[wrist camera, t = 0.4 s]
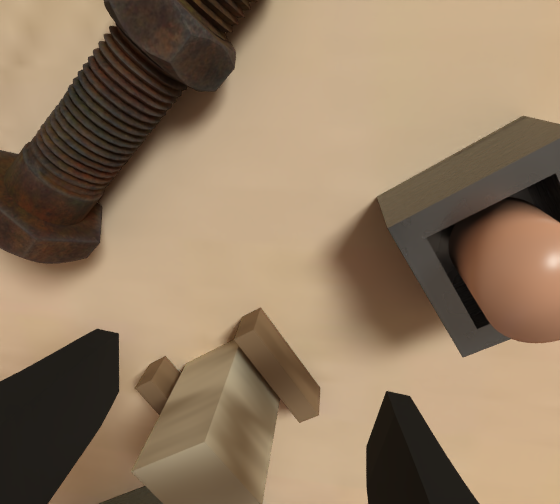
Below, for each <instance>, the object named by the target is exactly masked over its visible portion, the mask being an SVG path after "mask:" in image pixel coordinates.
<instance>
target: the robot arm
mask: <svg viewBox="0 0 560 504" xmlns="http://www.w3.org/2000/svg"><path fill="white" fill-rule="evenodd" d="M118 392H119V333H114V332H110V331H105V330H100V329H96V330H94V331H92V332H90V333H88V334H86V335H84V336H83V337H81V338H79V339H77V340H76V341H74V342H72V343H70V344H68V345H67V346H65V347H63V348H61V349H60V350H58V351H56V352H54V353H53V354H51V355H49V356H47V357H45V358H44V359H42V360H40V361H38V362H36V363H35V364H33V365H31V366H29V367H27V368H25V369H24V370H22V371H20V372H18V373H16V374H14V375H12V376H10V377H8V378H6V379H4V380H2V381H0V504H48V502H49V501H50V500H51V498H52V497H53V495H54V494H55V492H56V491H57V489H58V488H59V487H60V485H61V484H62V482H63V481H64V479H65V478H66V476H67V475H68V474H69V472H70V471H71V469H72V468H73V466H74V465H75V463H76V462H77V461H78V459H79V458H80V456H81V455H82V453H83V452H84V450H85V449H86V447H87V446H88V445H89V443H90V442H91V440H92V439H93V437H94V436H95V434H96V433H97V431H98V430H99V428H100V427H101V425H102V423H103V421H104V419H105V417H106V416H107V414H108V412H109V410H110V408H111V406H112V404H113V402H114V400H115V398H116V396H117V394H118ZM366 478H367V496H368V504H479V503H478V501H477V500H476V498H475V497H474V496H473V494H472V493H471V491H470V490H469V489H468V487H467V486H466V484H465V483H464V481H463V480H462V478H461V477H460V475H459V474H458V472H457V471H456V469H455V468H454V466H453V465H452V463H451V462H450V460H449V459H448V457H447V456H446V454H445V452H444V451H443V449H442V448H441V446H440V444H439V443H438V441H437V440H436V438H435V436H434V435H433V433H432V431H431V430H430V428H429V427H428V425H427V423H426V422H425V420H424V418H423V417H422V415H421V413H420V412H419V410H418V408H417V407H416V405H415V403H414V402H413V400H412V399H411V397H410V396H407V395H402V394H398V393H393V392H388V391H386V394H385V396H384V399H383V402H382V405H381V407H380V410H379V413H378V416H377V419H376V421H375V424H374V427H373V430H372V432H371V435H370V438H369V441H368V444H367V448H366Z"/></svg>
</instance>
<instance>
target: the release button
mask: <svg viewBox="0 0 560 504" xmlns="http://www.w3.org/2000/svg"><path fill="white" fill-rule="evenodd" d="M448 248H449V255H450V258H451V261H452V263H453V265H454V266H455V268H456V269H457V271H458V273H459V274H460V276H461V278H462V279H463V281H464V282H465V284H466V286H467V287H468V289H469V291H470V292H471V294H472V295H473V297H474V299H475V300H476V302H477V304H478V305H479V307H480V308H481V310H482V312H483V313H484V315H485V317H486V318H487V320H488V321H489V323H490V324H491V325H492V326H493V327H494V328H495V329H496V330H497V331H498V332H500V333H501V334H503V335H504V336H506V337H509V338H511V339H514V340H517V341H521V342H526V343H546V342H553V341H557V340H560V223H559V222H558V221H556V220H555V219H553V218H552V217H551V216H549V215H548V214H546V213H545V212H543V211H542V210H540V209H539V208H537V207H536V206H534V205H533V204H531V203H529V202H527V201H525V200H522V199H519V198H513V197H507V198H505V199H503V200H501V201H499V202H497V203H495V204H493V205H491V206H489V207H487V208H485V209H483V210H481V211H479V212H477V213H475V214H473V215H471V216H469V217H467V218H465V219H463V220H461V221H459V222H457V223H456V224H455V226H454V228H453V230H452V232H451V235H450V238H449V247H448Z"/></svg>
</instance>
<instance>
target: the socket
mask: <svg viewBox="0 0 560 504" xmlns="http://www.w3.org/2000/svg"><path fill="white" fill-rule="evenodd" d="M234 340H235V342H236V343H237V344H238V345H239V347H240V348H241V349H242V350H243V352H244V353H245V354H246V356H247V357H248V358H249V359H250V361H251V362H252V363H253V364H254V366H255V367H256V368H257V370H258V371H259V372H260V373H261V375H262V376H263V377H264V378H265V380H266V381H267V382H268V384H269V385H270V386H271V387H272V389H273V390H274V391H275V392H276V394H277V395H278V396H279V398H280V399H281V400H282V401H283V403H284V404H285V405H286V406H287V408H288V409H289V410H290V412H291V413H292V414H293V415H294V417H295V418H296V419H297V420H298V422H299V423H300V422H303V421H305V420H308V419H311V418H313V417H316V416H318V415H319V403H320V387H319V386H318V384H317V383H316V382H315V380H314V379H313V378H312V376H311V375H310V374H309V372H308V371H307V369H306V368H305V367H304V365H303V364H302V363H301V361H300V360H299V359H298V357H297V356H296V355H295V353H294V352H293V351H292V349H291V348H290V346H289V345H288V344H287V342H286V341H285V340H284V338H283V337H282V336H281V334H280V333H279V332H278V330H277V329H276V327H275V326H274V325H273V323H272V322H271V321H270V319H269V318H268V317H267V315H266V314H265V313H264V311H263V310H262V309H261V308H259V309H257V310H255V311H253V312H251V313H249V314H247V315H245V316H243V317H242V319H241V322H240V325H239V327H238V330H237V332H236V335H235V338H234ZM180 375H181V374H180V372H179V371H178V370H177V369H176V368H175V367H174V365H173V364H172V363H171V362H170V361H169V360H168V359H167V357H166V356H165V357H163V358H161V359H159V360H157V361H155V362H153V363H151V364H150V365H149V367H148V368H147V370H146V372H145V373H144V375H143V376H142V378H141V379H140V381H139V383H138V384H137V386H136V387H135V389H136V390H137V391H138V392H139V393H140V394H141V395H142V396H143V398H144V399H145V400H146V401H147V402H148V403H149V404H150V405H151V406H152V407H153V408H154V409H155V411H156V412H157V413H158V414H159V415H160V414H161V412H162V410H163V408H164V406H165V404H166V402H167V400H168V398H169V396H170V394H171V392H172V390H173V388H174V386H175V385H176V383H177V381H178V379H179V377H180Z"/></svg>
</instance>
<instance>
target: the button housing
mask: <svg viewBox="0 0 560 504" xmlns="http://www.w3.org/2000/svg"><path fill="white" fill-rule="evenodd" d="M507 197H513V198H519V199H522V200H525V201H527V202H529V203H531V204H533V205H534V206H536V207H537V208H539V209H540V210H542V211H543V212H545V213H546V214H548V215H549V216H551V217H552V218H553V219H555V220H556V221H558V222H559V223H560V124H556V123H552V122H548V121H544V120H539V119H535V118H531V117H526V116H522V117H520V118H518V119H517V120H515V121H513V122H511V123H509V124H508V125H506V126H504V127H502V128H500V129H499V130H497V131H495V132H493V133H491V134H490V135H488V136H486V137H484V138H482V139H480V140H479V141H477V142H475V143H473V144H471V145H470V146H468V147H466V148H464V149H462V150H461V151H459V152H457V153H455V154H453V155H452V156H450V157H448V158H446V159H444V160H443V161H441V162H439V163H437V164H435V165H434V166H432V167H430V168H428V169H426V170H425V171H423V172H421V173H419V174H417V175H416V176H414V177H412V178H410V179H408V180H407V181H405V182H403V183H401V184H399V185H398V186H396V187H394V188H392V189H390V190H389V191H387V192H385V193H383V194H381V195H380V196H378V197H377V199H378V202H379V205H380V208H381V211H382V214H383V217H384V220H385V223H386V225H387V228H388V230H389V232H390V234H391V235H392V237H393V239H394V240H395V242H396V244H397V246H398V247H399V249H400V251H401V252H402V254H403V256H404V258H405V259H406V261H407V263H408V264H409V266H410V268H411V270H412V271H413V273H414V275H415V276H416V278H417V280H418V282H419V283H420V285H421V287H422V289H423V290H424V292H425V294H426V295H427V297H428V299H429V301H430V302H431V304H432V306H433V307H434V309H435V311H436V313H437V314H438V316H439V318H440V319H441V321H442V323H443V325H444V326H445V328H446V330H447V331H448V333H449V335H450V337H451V338H452V340H453V342H454V343H455V345H456V347H457V349H458V350H459V352H460V354H461V355H462V357H466V356H468V355H471V354H473V353H476V352H478V351H481V350H484V349H486V348H489V347H491V346H494V345H497V344H499V343H502V342H504V341H507V340H509V339H511V338H509V337H506V336H504V335H503V334H501V333H500V332H498V331H497V330H496V329H495V328H494V327H493V326H492V325H491V324H490V323H489V321H488V320H487V318H486V317H485V315H484V313H483V312H482V310H481V308H480V307H479V305H478V304H477V302H476V300H475V299H474V297H473V295H472V294H471V292H470V291H469V289H468V287H467V286H466V284H465V282H464V281H463V279H462V278H461V276H460V274H459V273H458V271H457V269H456V268H455V266H454V265H453V263H452V261H451V258H450V255H449V248H448V247H449V238H450V235H451V232H452V230H453V228H454V226H455V224H456V223H457V222H459V221H461V220H463V219H465V218H467V217H469V216H471V215H473V214H475V213H477V212H479V211H481V210H483V209H485V208H487V207H489V206H491V205H493V204H495V203H497V202H499V201H501V200H503V199H505V198H507Z"/></svg>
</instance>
